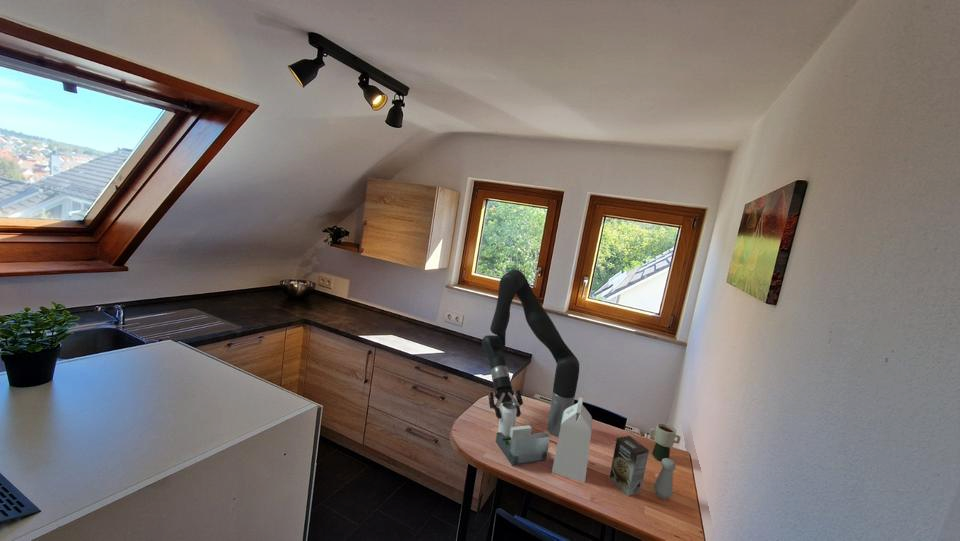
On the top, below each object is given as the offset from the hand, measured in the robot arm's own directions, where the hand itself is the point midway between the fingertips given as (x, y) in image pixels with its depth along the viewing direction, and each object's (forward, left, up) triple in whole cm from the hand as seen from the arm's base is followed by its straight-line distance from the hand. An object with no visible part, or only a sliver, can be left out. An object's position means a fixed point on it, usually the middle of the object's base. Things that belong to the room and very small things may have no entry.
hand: (509, 417), depth 158 cm
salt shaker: (-38, +44, -7) cm, 59 cm away
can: (0, -1, -7) cm, 7 cm away
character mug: (-55, +27, -7) cm, 62 cm away
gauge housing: (0, +12, -7) cm, 14 cm away
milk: (-14, +24, -7) cm, 29 cm away
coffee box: (-28, +37, -7) cm, 47 cm away
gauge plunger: (+2, +10, -6) cm, 12 cm away
